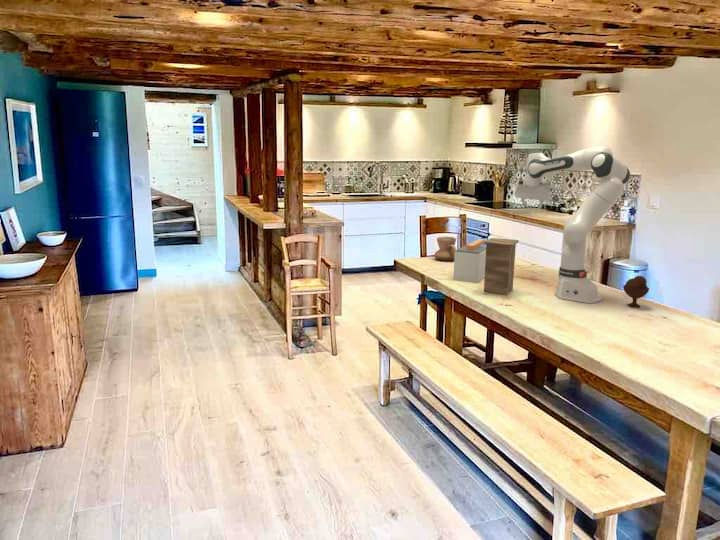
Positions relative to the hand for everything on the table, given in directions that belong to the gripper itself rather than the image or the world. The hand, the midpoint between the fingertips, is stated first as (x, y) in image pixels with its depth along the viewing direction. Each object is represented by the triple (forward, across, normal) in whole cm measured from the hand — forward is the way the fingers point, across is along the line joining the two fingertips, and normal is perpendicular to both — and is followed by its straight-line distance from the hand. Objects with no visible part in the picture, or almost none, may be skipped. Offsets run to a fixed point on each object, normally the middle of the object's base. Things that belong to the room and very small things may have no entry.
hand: (531, 207), depth 333 cm
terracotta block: (+23, +21, +22) cm, 38 cm away
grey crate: (+39, +18, +29) cm, 52 cm away
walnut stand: (+39, -9, +41) cm, 58 cm away
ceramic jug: (+39, +57, +2) cm, 69 cm away
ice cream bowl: (+39, -68, +17) cm, 80 cm away
